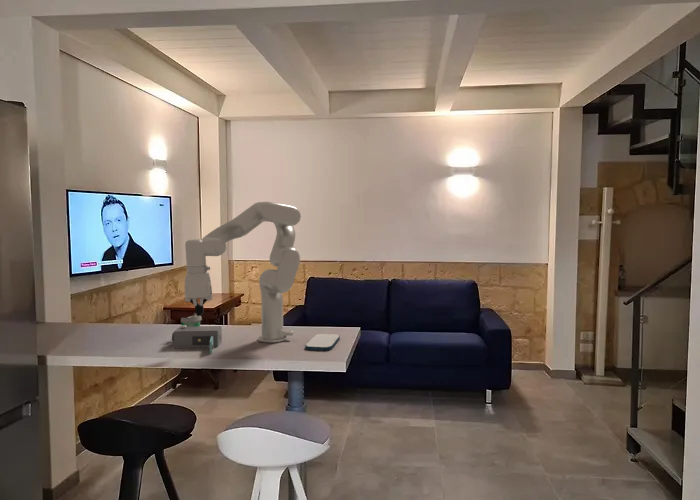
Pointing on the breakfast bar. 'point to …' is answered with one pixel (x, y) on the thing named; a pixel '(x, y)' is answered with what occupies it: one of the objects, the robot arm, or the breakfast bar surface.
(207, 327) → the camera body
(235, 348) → the breakfast bar surface
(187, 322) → the food container
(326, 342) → the external hard drive
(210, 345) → the side door
